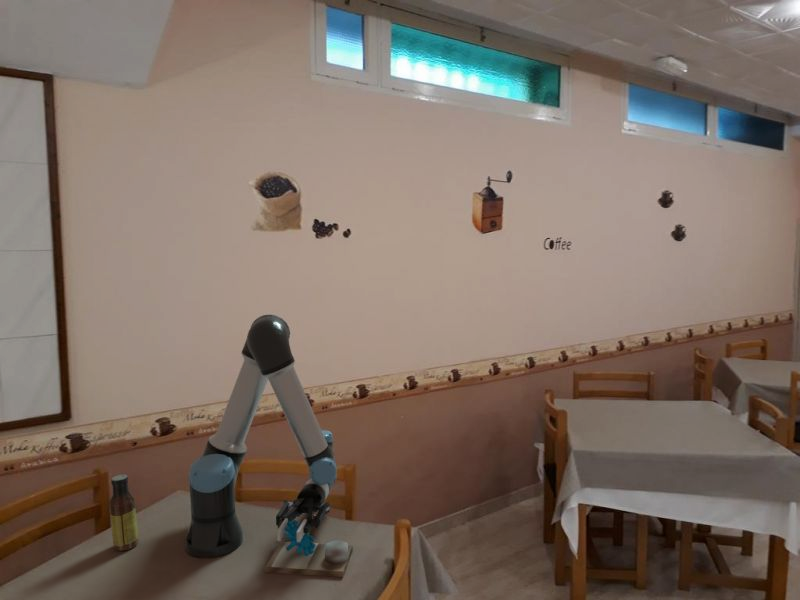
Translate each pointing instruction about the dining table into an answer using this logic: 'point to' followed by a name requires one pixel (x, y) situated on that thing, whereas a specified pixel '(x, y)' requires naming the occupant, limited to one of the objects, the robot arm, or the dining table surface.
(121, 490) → the sauce bottle
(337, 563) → the wooden board
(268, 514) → the dining table surface
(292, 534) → the gear
